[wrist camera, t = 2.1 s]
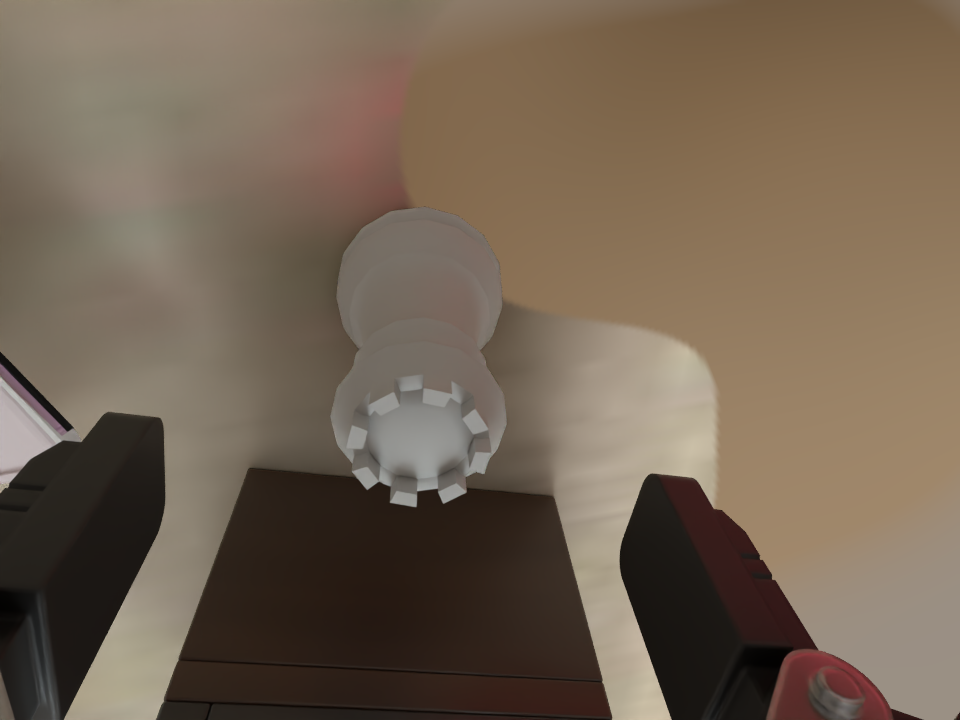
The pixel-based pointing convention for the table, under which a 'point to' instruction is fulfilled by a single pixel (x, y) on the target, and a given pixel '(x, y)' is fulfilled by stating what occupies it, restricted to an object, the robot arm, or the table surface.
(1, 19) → the table surface
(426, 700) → the tray
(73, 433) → the mobile phone
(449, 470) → the rook chess piece
